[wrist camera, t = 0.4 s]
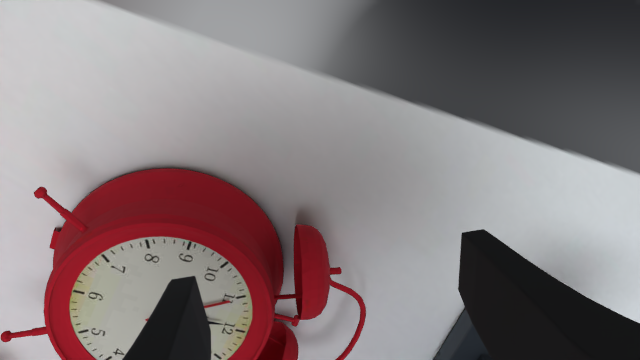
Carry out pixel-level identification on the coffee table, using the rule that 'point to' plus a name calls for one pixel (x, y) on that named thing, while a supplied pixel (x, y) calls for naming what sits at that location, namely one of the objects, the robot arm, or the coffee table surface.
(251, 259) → the alarm clock
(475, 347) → the bracket
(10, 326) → the coffee table surface
